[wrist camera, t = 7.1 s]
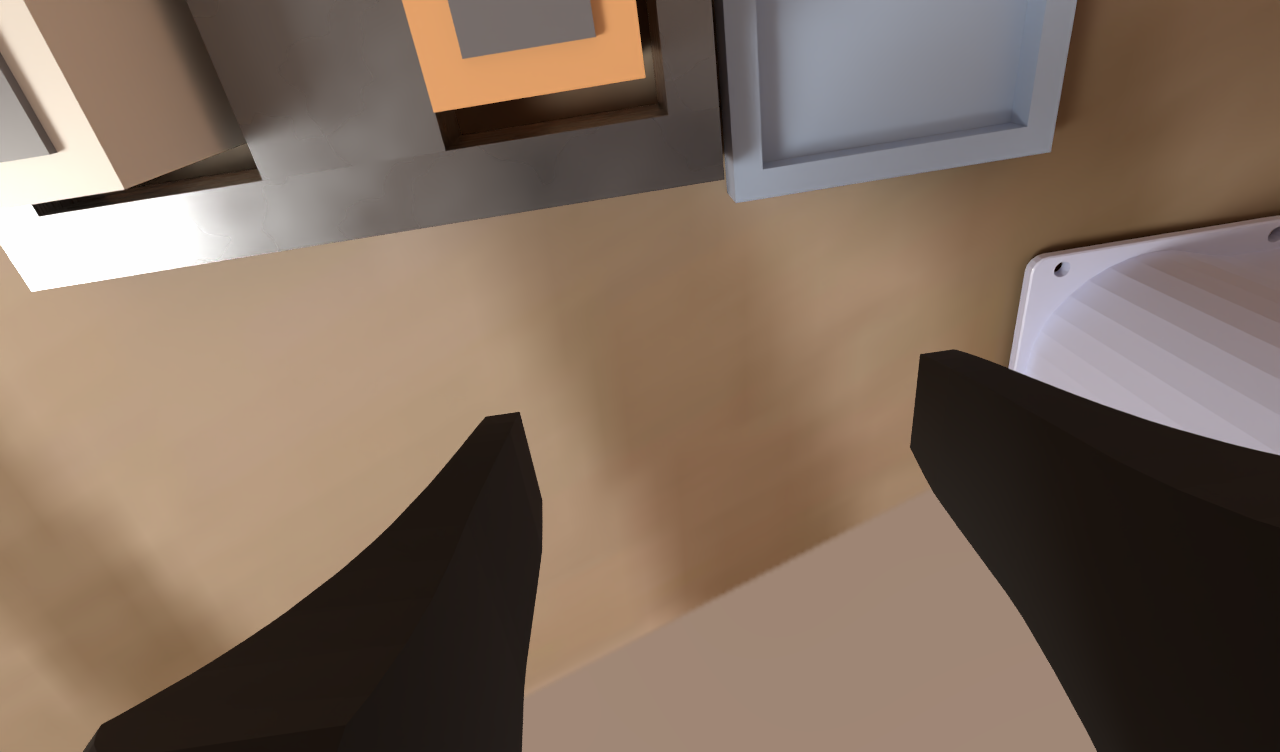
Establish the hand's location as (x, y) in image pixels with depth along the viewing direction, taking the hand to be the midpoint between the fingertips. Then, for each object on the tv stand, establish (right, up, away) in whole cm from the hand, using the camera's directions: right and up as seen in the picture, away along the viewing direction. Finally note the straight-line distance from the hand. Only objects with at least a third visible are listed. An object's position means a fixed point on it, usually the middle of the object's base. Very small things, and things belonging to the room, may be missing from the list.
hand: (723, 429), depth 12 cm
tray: (+5, +11, +5) cm, 13 cm away
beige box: (-14, +9, +5) cm, 17 cm away
